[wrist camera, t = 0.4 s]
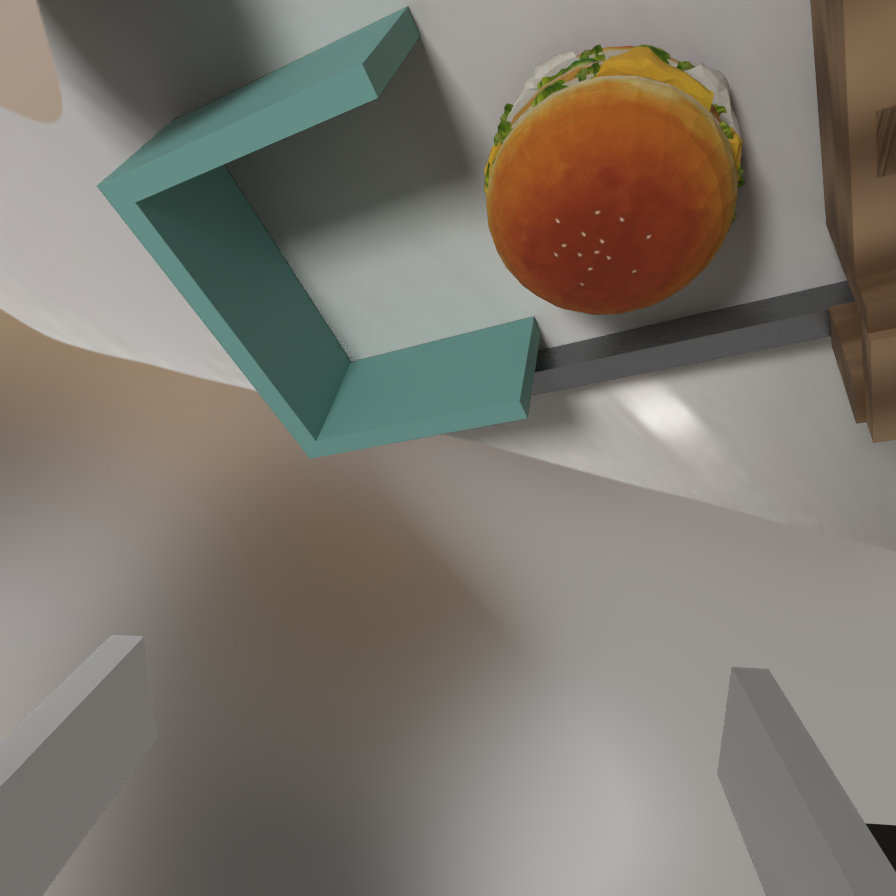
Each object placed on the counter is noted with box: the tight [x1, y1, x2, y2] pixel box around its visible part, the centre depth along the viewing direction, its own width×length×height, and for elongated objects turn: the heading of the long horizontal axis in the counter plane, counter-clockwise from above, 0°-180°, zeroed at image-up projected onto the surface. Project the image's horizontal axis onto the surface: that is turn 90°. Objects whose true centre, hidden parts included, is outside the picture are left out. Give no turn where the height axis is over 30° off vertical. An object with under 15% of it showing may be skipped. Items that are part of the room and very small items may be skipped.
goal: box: [97, 7, 541, 458], centre depth 43 cm, size 22×17×9 cm
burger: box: [484, 45, 745, 315], centre depth 36 cm, size 13×14×10 cm
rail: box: [531, 281, 855, 395], centre depth 46 cm, size 2×30×2 cm, turn 114°
